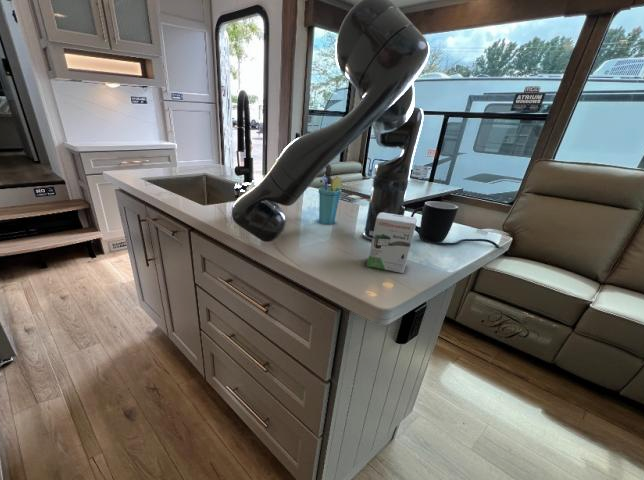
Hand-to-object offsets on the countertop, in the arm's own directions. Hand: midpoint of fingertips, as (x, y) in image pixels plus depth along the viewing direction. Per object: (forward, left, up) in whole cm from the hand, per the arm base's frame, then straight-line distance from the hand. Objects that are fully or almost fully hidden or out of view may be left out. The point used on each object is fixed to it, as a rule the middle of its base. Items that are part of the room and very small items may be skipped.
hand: (261, 186), depth 90 cm
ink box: (-30, +27, -13) cm, 42 cm away
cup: (-21, -8, -13) cm, 26 cm away
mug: (-50, +5, -13) cm, 52 cm away
